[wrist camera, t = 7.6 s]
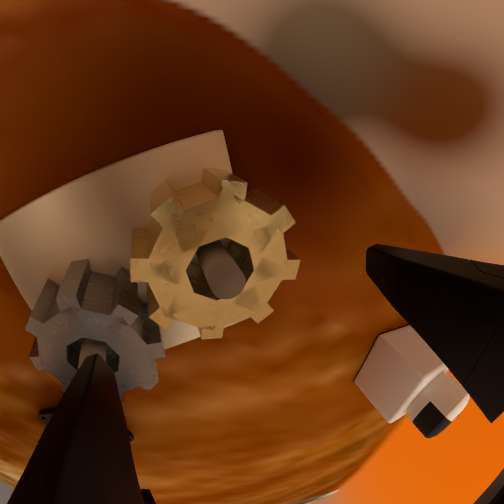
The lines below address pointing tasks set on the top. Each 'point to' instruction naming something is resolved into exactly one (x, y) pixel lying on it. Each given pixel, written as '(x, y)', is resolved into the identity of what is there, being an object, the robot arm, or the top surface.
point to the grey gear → (95, 327)
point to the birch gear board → (114, 226)
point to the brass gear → (203, 232)
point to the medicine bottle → (410, 382)
